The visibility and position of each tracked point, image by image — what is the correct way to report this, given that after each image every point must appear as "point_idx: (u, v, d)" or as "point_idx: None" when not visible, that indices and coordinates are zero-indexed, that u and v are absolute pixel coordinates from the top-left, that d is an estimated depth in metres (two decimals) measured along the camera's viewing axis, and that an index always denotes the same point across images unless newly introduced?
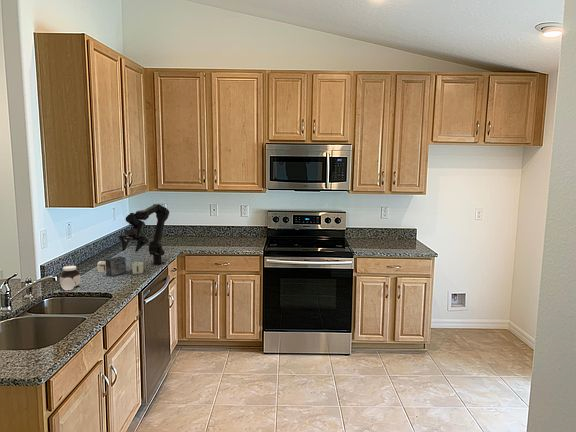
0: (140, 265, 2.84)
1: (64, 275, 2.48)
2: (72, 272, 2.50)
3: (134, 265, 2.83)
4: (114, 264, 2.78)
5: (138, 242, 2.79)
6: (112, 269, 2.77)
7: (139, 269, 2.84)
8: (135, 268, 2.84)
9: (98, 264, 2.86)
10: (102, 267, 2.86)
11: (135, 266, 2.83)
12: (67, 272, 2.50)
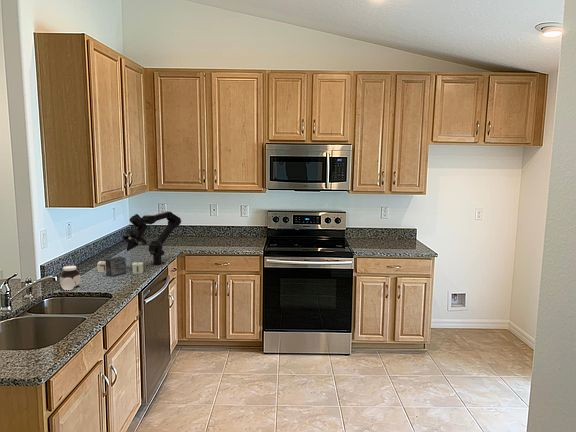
0: (140, 265, 2.84)
1: (64, 275, 2.48)
2: (72, 272, 2.50)
3: (134, 265, 2.83)
4: (114, 264, 2.78)
5: (131, 241, 2.89)
6: (112, 269, 2.77)
7: (139, 269, 2.84)
8: (135, 268, 2.84)
9: (98, 264, 2.86)
10: (102, 267, 2.86)
11: (135, 266, 2.83)
12: (67, 272, 2.50)
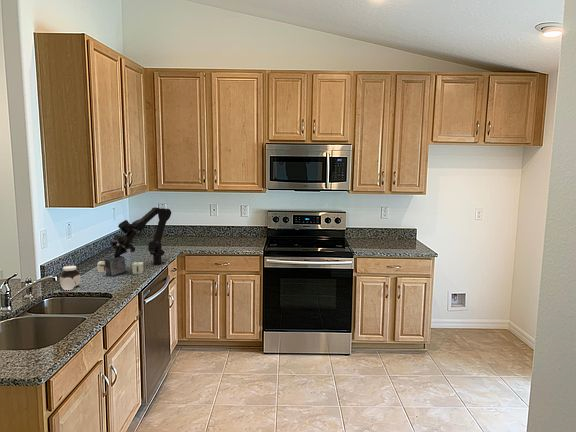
0: (140, 265, 2.84)
1: (64, 275, 2.48)
2: (72, 272, 2.50)
3: (134, 265, 2.83)
4: (114, 264, 2.77)
5: (119, 248, 2.81)
6: (111, 269, 2.76)
7: (139, 269, 2.84)
8: (135, 268, 2.84)
9: (98, 264, 2.86)
10: (102, 267, 2.86)
11: (135, 266, 2.83)
12: (67, 272, 2.50)
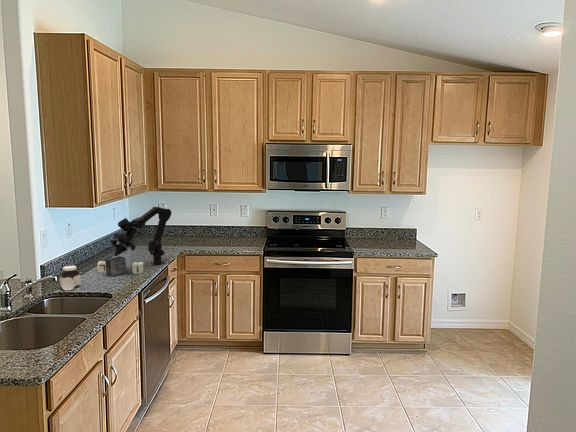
0: (140, 265, 2.84)
1: (64, 275, 2.48)
2: (72, 272, 2.50)
3: (134, 265, 2.83)
4: (114, 264, 2.78)
5: (119, 246, 2.81)
6: (112, 269, 2.77)
7: (139, 269, 2.84)
8: (135, 268, 2.84)
9: (98, 264, 2.86)
10: (102, 267, 2.86)
11: (135, 266, 2.83)
12: (67, 272, 2.50)
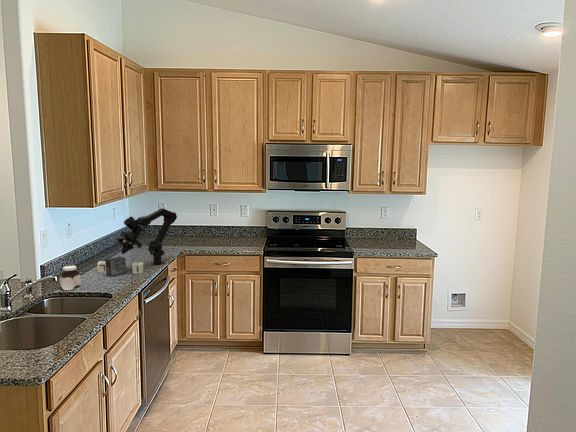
0: (140, 265, 2.84)
1: (64, 275, 2.48)
2: (72, 272, 2.50)
3: (134, 265, 2.83)
4: (114, 264, 2.78)
5: (126, 244, 2.86)
6: (112, 269, 2.77)
7: (139, 269, 2.84)
8: (135, 268, 2.84)
9: (98, 264, 2.86)
10: (102, 267, 2.86)
11: (135, 266, 2.83)
12: (67, 272, 2.50)
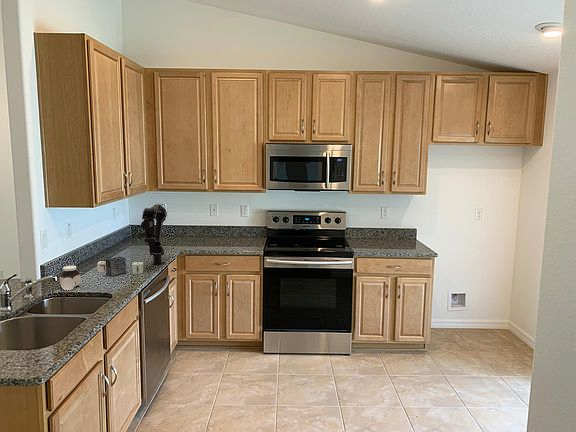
0: (140, 265, 2.84)
1: (64, 275, 2.48)
2: (72, 272, 2.50)
3: (134, 265, 2.83)
4: (114, 264, 2.78)
5: (147, 242, 2.94)
6: (112, 269, 2.77)
7: (139, 269, 2.84)
8: (135, 268, 2.84)
9: (98, 264, 2.86)
10: (102, 267, 2.86)
11: (135, 266, 2.83)
12: (67, 272, 2.50)
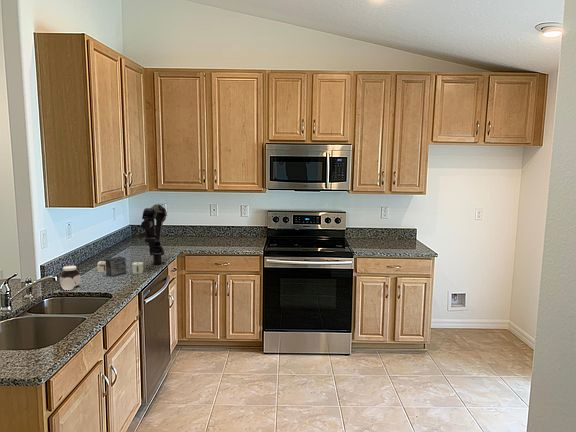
0: (140, 265, 2.84)
1: (64, 275, 2.48)
2: (72, 272, 2.50)
3: (134, 265, 2.83)
4: (114, 264, 2.78)
5: (147, 242, 2.94)
6: (112, 269, 2.77)
7: (139, 269, 2.84)
8: (135, 268, 2.84)
9: (98, 264, 2.86)
10: (102, 267, 2.86)
11: (135, 266, 2.83)
12: (67, 272, 2.50)
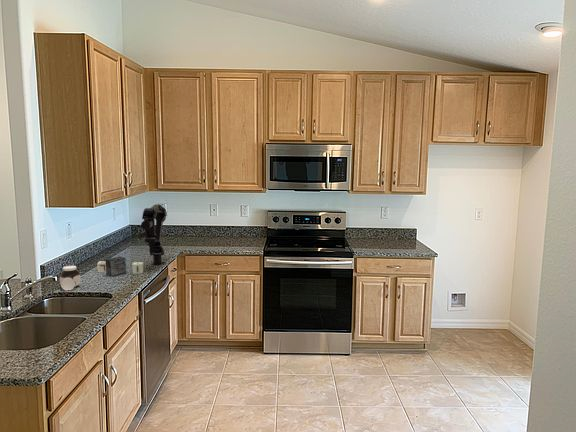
0: (140, 265, 2.84)
1: (64, 275, 2.48)
2: (72, 272, 2.50)
3: (134, 265, 2.83)
4: (114, 264, 2.78)
5: (147, 242, 2.94)
6: (112, 269, 2.77)
7: (139, 269, 2.84)
8: (135, 268, 2.84)
9: (98, 264, 2.86)
10: (102, 267, 2.86)
11: (135, 266, 2.83)
12: (67, 272, 2.50)
